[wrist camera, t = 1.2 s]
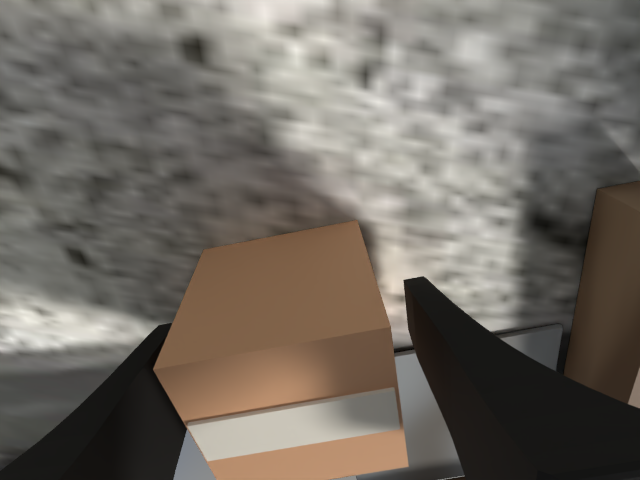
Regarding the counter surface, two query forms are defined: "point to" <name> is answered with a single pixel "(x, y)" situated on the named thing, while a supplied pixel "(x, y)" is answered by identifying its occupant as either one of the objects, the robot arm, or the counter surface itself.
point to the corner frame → (551, 339)
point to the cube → (287, 360)
